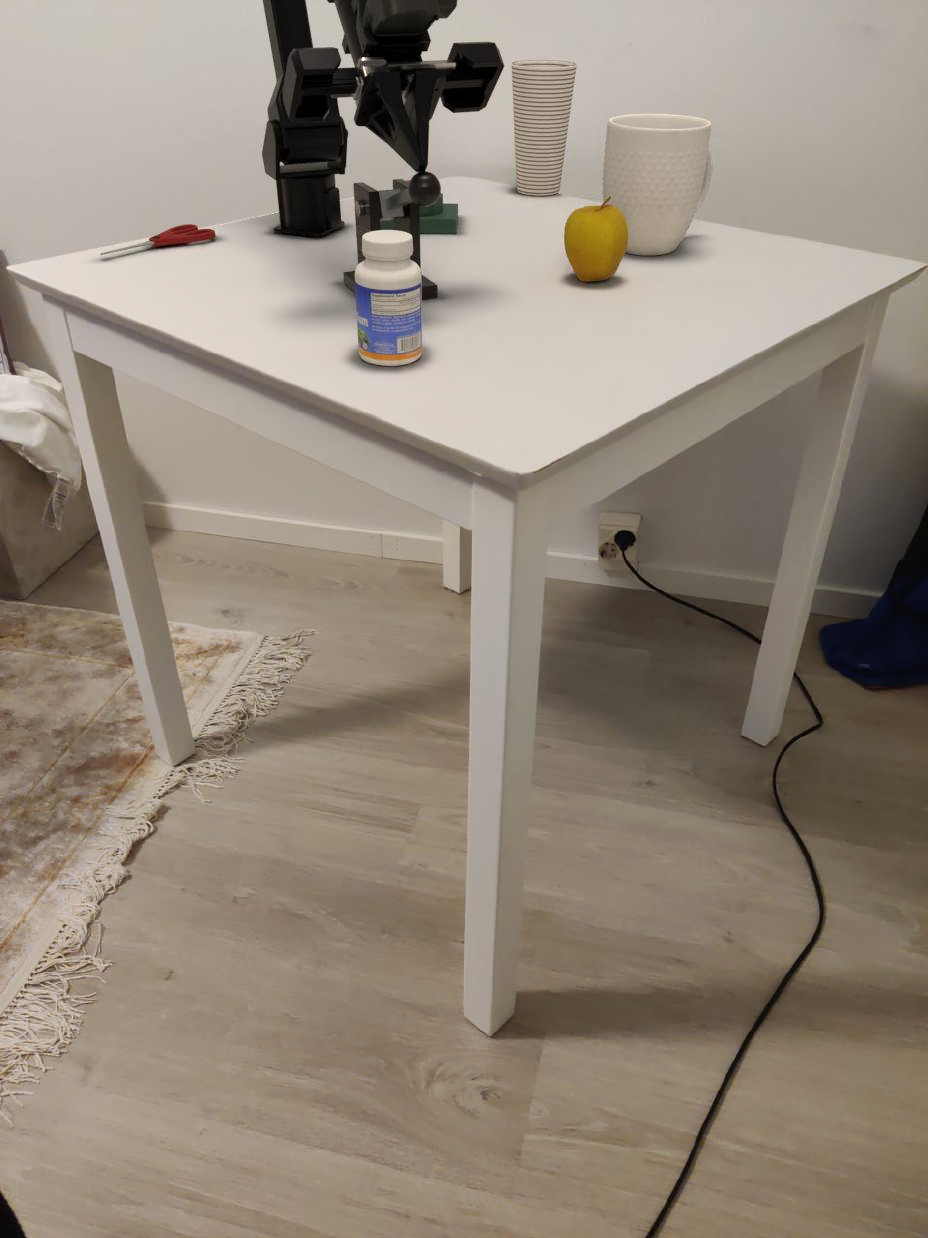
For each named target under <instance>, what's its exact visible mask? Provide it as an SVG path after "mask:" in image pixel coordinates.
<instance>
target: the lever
mask: <svg viewBox="0 0 928 1238" xmlns="http://www.w3.org/2000/svg"><path fill="white" fill-rule="evenodd" d="M409 180H410V182H409V187H408V188H407V189H405V190H403V191H401V190H400V189H393V188H392V189H381V190H378V191H379V206H380V221H387V220H395V219H397V218H400V217H403V216H404V212H403V206H405V205H407V204H410V203H412V202H414V203H415V204H417V205H419V206H422V207H428V206H431V205H433V204H434V203H436V201H437V200H438V199H439V197H440V193H442V186H441V183H440V180H439V178H438V177H437V176H436V175H435V174H434V173H432V172H430V171H426V170H425V171H421V172H415V174H414V175H413V176H412V177H411V178H410V179H409Z"/></svg>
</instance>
